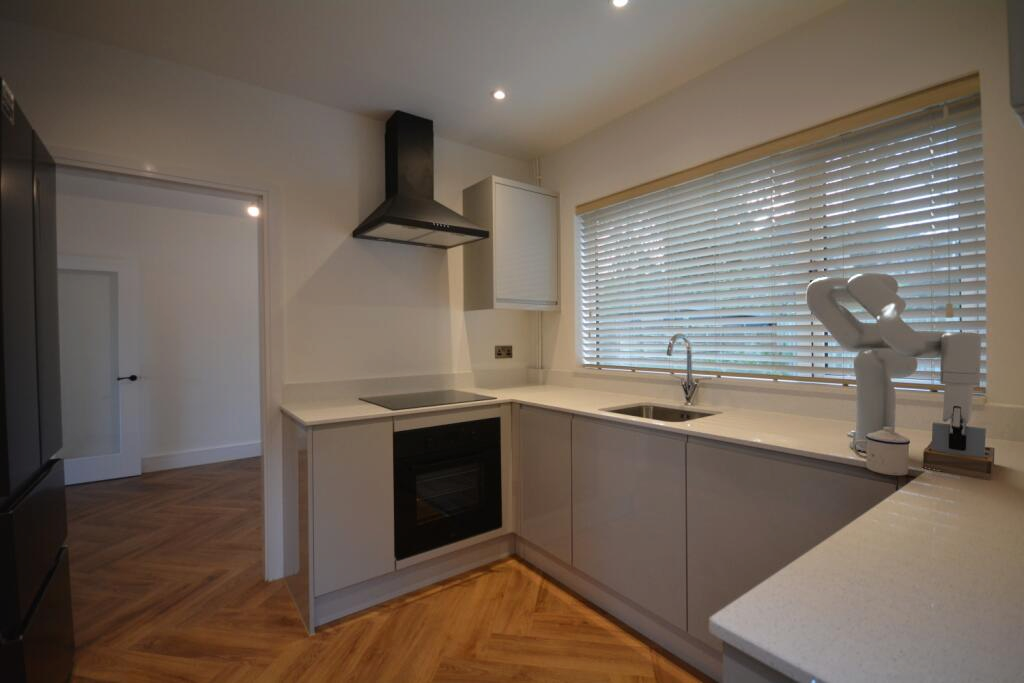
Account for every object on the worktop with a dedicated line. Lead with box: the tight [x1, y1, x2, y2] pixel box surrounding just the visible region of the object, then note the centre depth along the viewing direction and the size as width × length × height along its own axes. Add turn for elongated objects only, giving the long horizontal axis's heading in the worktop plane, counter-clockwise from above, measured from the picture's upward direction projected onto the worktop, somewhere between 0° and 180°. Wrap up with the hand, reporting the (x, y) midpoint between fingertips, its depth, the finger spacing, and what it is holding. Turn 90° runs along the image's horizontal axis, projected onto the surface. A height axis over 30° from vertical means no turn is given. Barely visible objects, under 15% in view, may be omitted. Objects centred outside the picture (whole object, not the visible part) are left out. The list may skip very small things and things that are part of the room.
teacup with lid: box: [852, 427, 911, 477], centre depth 124 cm, size 12×9×12 cm
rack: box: [922, 440, 996, 481], centre depth 127 cm, size 20×13×5 cm, turn 132°
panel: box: [931, 422, 987, 459], centre depth 123 cm, size 2×10×10 cm, turn 42°
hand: (957, 448), depth 123 cm, fingers closed on panel, 2 cm apart
